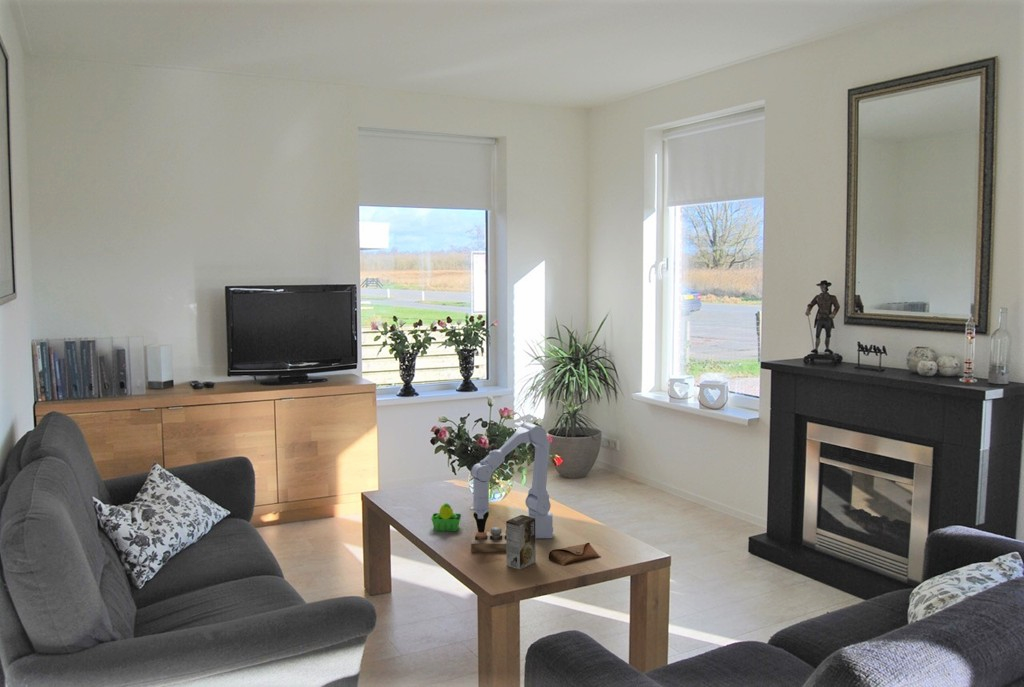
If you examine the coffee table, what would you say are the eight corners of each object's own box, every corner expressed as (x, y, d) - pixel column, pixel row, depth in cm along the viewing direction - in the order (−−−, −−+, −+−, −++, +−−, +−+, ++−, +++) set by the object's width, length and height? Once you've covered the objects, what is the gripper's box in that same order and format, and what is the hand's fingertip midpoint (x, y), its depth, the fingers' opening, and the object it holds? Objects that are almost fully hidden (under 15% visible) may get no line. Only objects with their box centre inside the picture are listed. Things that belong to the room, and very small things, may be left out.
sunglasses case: (561, 566, 280) (556, 547, 283) (552, 570, 286) (546, 552, 288) (603, 556, 290) (597, 538, 292) (592, 561, 295) (587, 543, 298)
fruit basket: (461, 525, 325) (461, 498, 324) (459, 533, 316) (459, 504, 315) (433, 525, 325) (433, 498, 324) (430, 532, 317) (430, 504, 315)
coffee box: (521, 558, 289) (521, 514, 287) (536, 562, 285) (536, 517, 283) (505, 565, 282) (505, 520, 280) (520, 570, 278) (519, 524, 276)
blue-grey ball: (501, 536, 304) (501, 526, 303) (501, 540, 300) (501, 530, 299) (490, 536, 304) (490, 526, 303) (490, 540, 300) (490, 530, 299)
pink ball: (486, 539, 304) (486, 529, 303) (486, 543, 300) (486, 533, 299) (476, 539, 304) (476, 529, 303) (475, 543, 300) (475, 533, 299)
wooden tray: (519, 539, 308) (519, 531, 308) (520, 551, 295) (520, 543, 295) (472, 539, 308) (472, 531, 308) (471, 551, 295) (471, 543, 295)
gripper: (471, 490, 307) (471, 525, 309) (469, 501, 293) (469, 538, 294) (489, 490, 307) (489, 525, 309) (488, 501, 293) (489, 538, 294)
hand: (481, 531), depth 301 cm, fingers closed, pressing on pink ball
